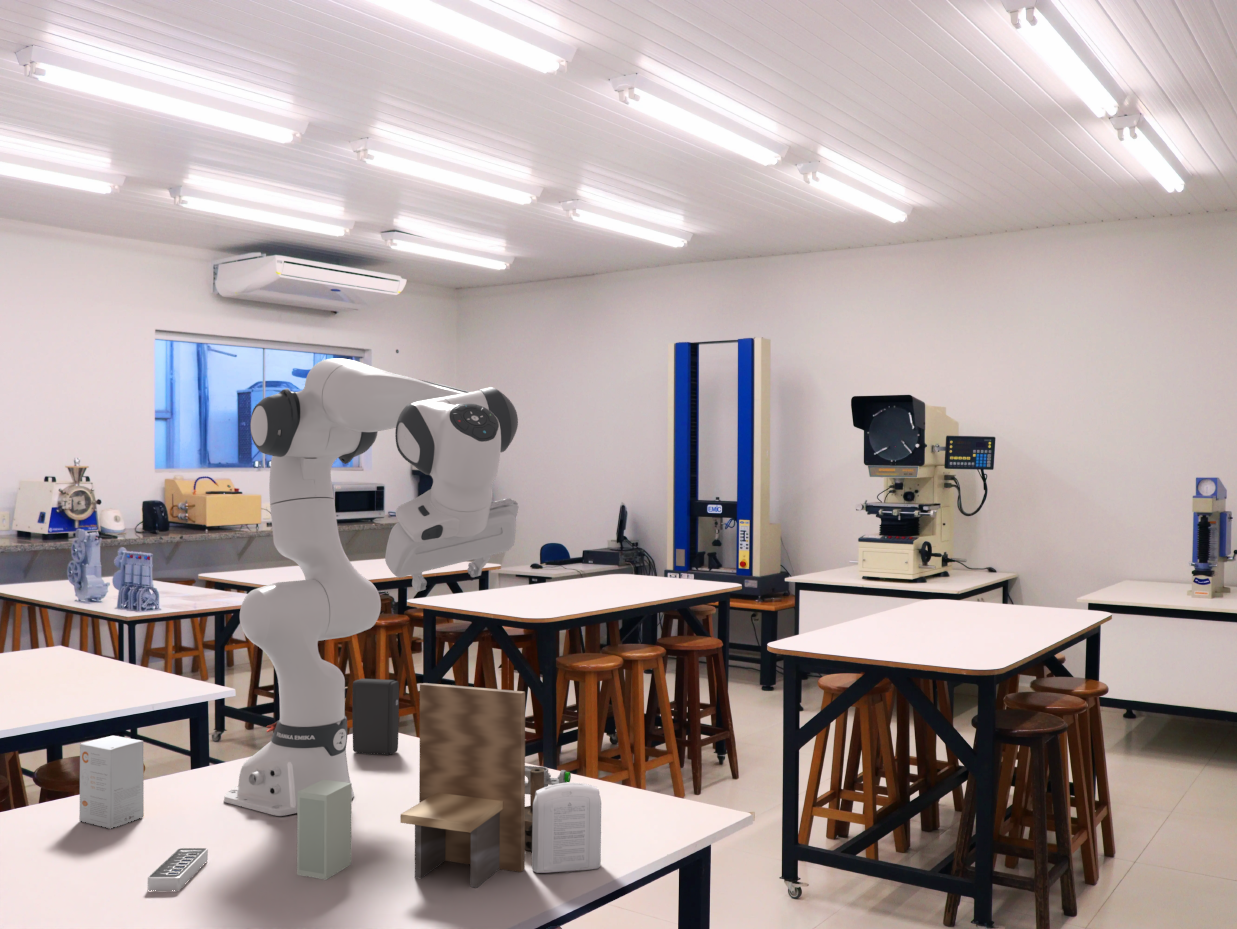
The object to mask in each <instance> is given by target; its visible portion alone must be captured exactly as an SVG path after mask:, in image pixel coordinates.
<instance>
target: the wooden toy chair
mask: <svg viewBox="0 0 1237 929" xmlns="http://www.w3.org/2000/svg"><path fill="white" fill-rule="evenodd" d="M525 766H526V691H522V690H511V689H498V688H486V687H476V686H474V687H473V686H464V685H453V684H452V685H451V684H442V683H441V684H439V683H430V682H429V683H428V682H423V683H420V684H419V774H418V775H419V778H418V779H419V784H418V785H419V791H418V793H419V794H418V795H419V796H418V797H419V799H418V800H419V802H418V803H416V804H415V805H413V806H411V807H410V808H408V809H407V810H405V811H403V812H402V813H400V820H399V821H400V824H405V825H407V824H409V825H413V826H414V878H416V879H423V878H424V877H425V876H426V875H428V874H429V873H431V872H432V871H433V870H434V869H436V868H437V867H439V866H440V865H441V864H443V863H444V862H451V863H452V862H453V863H459V864H465V865H470V887H471V888H475V889H476V888H478V887H480V886H481V885H482V884H483V883H484V882H486V881H487V880H488V879H489V878H491V876H493V875H494V874H495V873H497V871H499V870H504V871H510V872H517V873H522V872H523V871H524V870H525V869H526V867H525V865H526V864H525V862H526V861H525V860H526V858H525V857H526V856H525V855H526V853H525V851H526V850H525V807H526V794H525V781H526V776H525Z"/></svg>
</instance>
